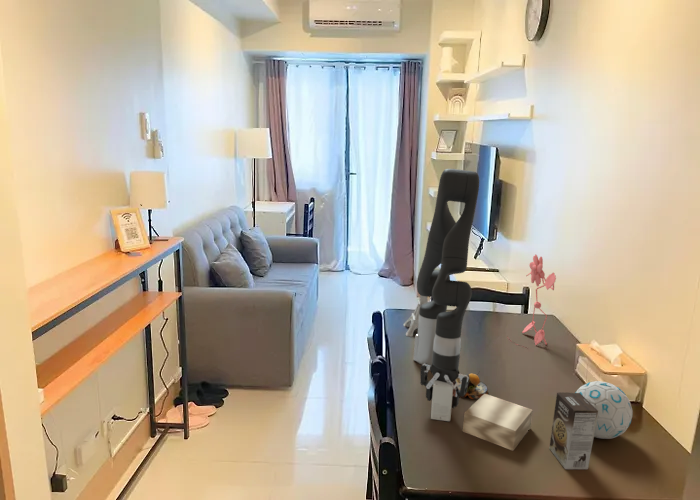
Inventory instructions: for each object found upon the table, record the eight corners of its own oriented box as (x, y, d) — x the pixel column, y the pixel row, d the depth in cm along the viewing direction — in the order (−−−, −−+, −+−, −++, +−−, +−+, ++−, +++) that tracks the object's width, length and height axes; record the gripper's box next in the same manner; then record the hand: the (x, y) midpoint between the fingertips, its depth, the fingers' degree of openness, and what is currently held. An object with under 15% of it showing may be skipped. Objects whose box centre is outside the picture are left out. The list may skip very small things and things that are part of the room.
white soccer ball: (560, 418, 154) (567, 370, 151) (612, 421, 154) (620, 373, 150) (580, 448, 139) (588, 396, 136) (638, 452, 139) (648, 399, 136)
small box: (450, 422, 149) (453, 387, 147) (430, 419, 150) (433, 385, 148) (450, 408, 157) (453, 375, 154) (431, 405, 158) (434, 372, 155)
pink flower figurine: (532, 328, 226) (542, 248, 219) (557, 353, 201) (569, 263, 194) (496, 327, 226) (505, 247, 218) (517, 351, 200) (528, 262, 193)
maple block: (462, 432, 145) (464, 412, 144) (482, 412, 156) (484, 393, 155) (512, 452, 137) (515, 431, 136) (530, 429, 148) (532, 409, 147)
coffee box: (547, 448, 139) (555, 391, 135) (571, 448, 139) (580, 391, 136) (564, 470, 130) (573, 410, 126) (589, 469, 130) (599, 410, 127)
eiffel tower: (439, 338, 211) (446, 264, 204) (406, 336, 211) (411, 263, 205) (435, 326, 224) (440, 256, 217) (403, 324, 224) (408, 255, 218)
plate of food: (463, 378, 177) (465, 358, 175) (494, 392, 169) (497, 370, 167) (442, 389, 168) (444, 368, 167) (474, 404, 160) (476, 381, 159)
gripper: (417, 347, 149) (413, 401, 153) (467, 360, 142) (461, 416, 146) (427, 339, 156) (423, 391, 159) (475, 351, 149) (470, 405, 152)
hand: (441, 403), depth 153 cm, fingers closed on small box, 6 cm apart
